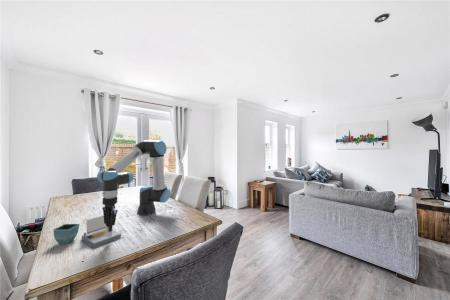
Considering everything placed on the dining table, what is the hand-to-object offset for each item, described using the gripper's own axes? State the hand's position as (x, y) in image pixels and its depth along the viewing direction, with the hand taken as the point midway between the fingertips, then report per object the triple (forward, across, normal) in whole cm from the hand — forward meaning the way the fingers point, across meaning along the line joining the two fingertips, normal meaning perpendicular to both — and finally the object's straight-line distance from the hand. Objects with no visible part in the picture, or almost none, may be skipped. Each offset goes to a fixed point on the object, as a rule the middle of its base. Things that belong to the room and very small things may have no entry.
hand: (109, 236), depth 109 cm
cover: (-4, -14, 0) cm, 14 cm away
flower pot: (+4, -22, -13) cm, 26 cm away
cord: (+2, -12, 0) cm, 13 cm away
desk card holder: (+4, -9, 0) cm, 9 cm away
